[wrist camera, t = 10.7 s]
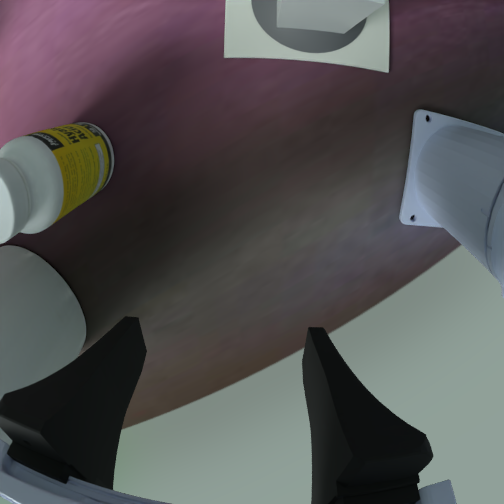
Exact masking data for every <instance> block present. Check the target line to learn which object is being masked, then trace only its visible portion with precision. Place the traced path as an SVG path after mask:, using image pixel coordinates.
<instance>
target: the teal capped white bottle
mask: <svg viewBox="0 0 504 504" xmlns="http://www.w3.org/2000/svg"><path fill="white" fill-rule="evenodd" d="M383 5H385V0H277V27H278V28H296V29H308V30H318V31H327V32H335V33H342V34H344V33H346V32H347V31H348V30H350V29H351V28H352V27H354V26H355V25H356V24H358V23H359V22H361V21H362V20H363V19H365V18H366V17H367V16H369V15H370V14H372V13H373V12H374V11H376V10H377V9H379V8H380V7H382V6H383Z"/></svg>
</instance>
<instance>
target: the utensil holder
mask: <svg viewBox="0 0 504 504" xmlns="http://www.w3.org/2000/svg"><path fill="white" fill-rule="evenodd" d="M85 339H86V323H85V318H84V315H83V312H82V309H81V307H80V304H79V302H78V300H77V298H76V297H75V295H74V293H73V292H72V290H71V289H70V287H69V286H68V284H67V283H66V282H65V281H64V279H63V278H62V277H61V276H60V275H59V274H58V273H57V271H56V270H55V269H53V268H52V267H51V266H50V265H49V264H48V263H47V262H46V261H44V260H43V259H42V258H41V257H39V256H38V255H36V254H35V253H33V252H31V251H29V250H27V249H24V248H22V247H18V246H12V245H7V246H2V247H0V400H1V399H2V397H3V395H4V394H5V393H9V392H12V391H15V390H18V389H21V388H23V387H26V386H29V385H31V384H33V383H36V382H38V381H40V380H42V379H44V378H46V377H48V376H49V375H51V374H53V373H55V372H57V371H58V370H60V369H62V368H63V367H65V366H66V365H68V364H69V363H71V362H72V361H74V360H75V359H76V358H77V357H78V355H79V353H80V351H81V349H82V347H83V344H84V342H85ZM0 439H1V440H3V441H4V442H6V443H7V444H9V445H11V443H12V440H11V439H10V438H9V437H8V436H7V434H6V433H5V432H4V431H3V430H2V429H1V428H0Z"/></svg>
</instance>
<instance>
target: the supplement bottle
mask: <svg viewBox="0 0 504 504" xmlns="http://www.w3.org/2000/svg"><path fill="white" fill-rule="evenodd" d="M113 168H114V152H113V148H112V145H111V142H110V140H109V138H108V137H107V135H106V134H105V133H104V132H103V131H102V130H101V129H100V128H99V127H97V126H95V125H93V124H90V123H85V122H79V123H73V124H68V125H63V126H59V127H55V128H51V129H46V130H42V131H38V132H35V133H32V134H28V135H24V136H21V137H18V138H16V139H13V140H11V141H9V142H8V143H6V144H5V145H4V146H3V147H2V148H1V149H0V244H1V243H5V242H6V241H8V240H9V239H11V238H12V237H14V236H15V235H16V234H18V233H19V232H21V233H25V234H34V233H38V232H41V231H43V230H45V229H46V228H48V227H49V226H51V225H52V224H54V223H55V222H56V221H58V220H59V219H60V218H62V217H63V216H65V215H66V214H68V213H69V212H70V211H72V210H73V209H75V208H76V207H78V206H79V205H81V204H82V203H83V202H85V201H86V200H88V199H89V198H91V197H93V196H94V195H95V194H97V193H98V192H99V191H101V190H102V189H103V188H104V187H105V186H106V185H107V183H108V182H109V180H110V178H111V175H112V172H113Z"/></svg>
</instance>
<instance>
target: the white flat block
mask: <svg viewBox="0 0 504 504" xmlns="http://www.w3.org/2000/svg"><path fill="white" fill-rule="evenodd" d="M224 58H270V59H288V60H302V61H313V62H322V63H331V64H338V65H346V66H352V67H358V68H364V69H370V70H376V71H381V72H386V73H389V0H385V5H383V6H382V7H380V8H379V9H377V10H376V11H374V12H373V13H372V14H370V15H369V16H367V17H366V18H365V19H363V20H362V21H361V22H359V23H358V24H356V25H355V26H354V27H352V28H351V29H350V30H348V31H347V32H346V33H344V34H342V33H335V32H327V31H318V30H308V29H296V28H278V27H277V0H226V9H225V39H224Z"/></svg>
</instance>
